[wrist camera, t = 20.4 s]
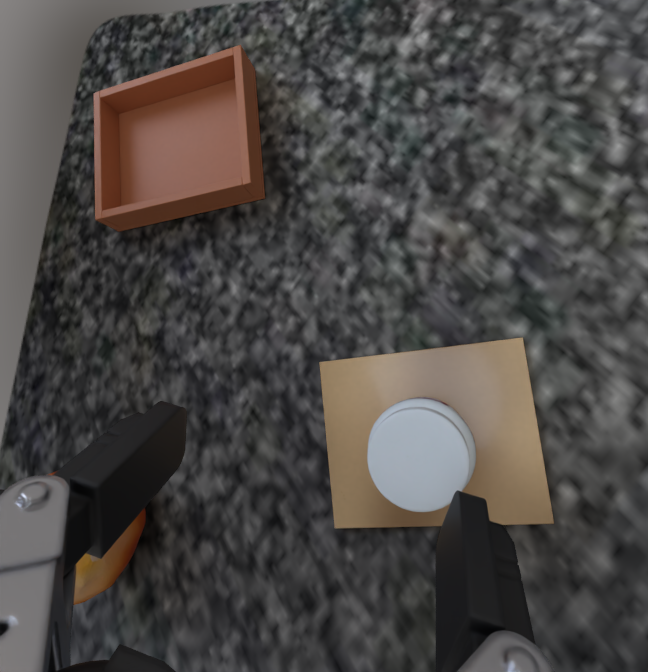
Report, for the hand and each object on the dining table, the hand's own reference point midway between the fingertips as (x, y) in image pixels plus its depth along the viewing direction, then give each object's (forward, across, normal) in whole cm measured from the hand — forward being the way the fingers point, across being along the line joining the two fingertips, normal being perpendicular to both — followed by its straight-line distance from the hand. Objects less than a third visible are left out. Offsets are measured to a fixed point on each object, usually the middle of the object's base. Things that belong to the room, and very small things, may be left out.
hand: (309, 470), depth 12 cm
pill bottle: (+12, -5, +6) cm, 14 cm away
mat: (+12, -5, +6) cm, 15 cm away
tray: (+22, +17, -6) cm, 29 cm away
